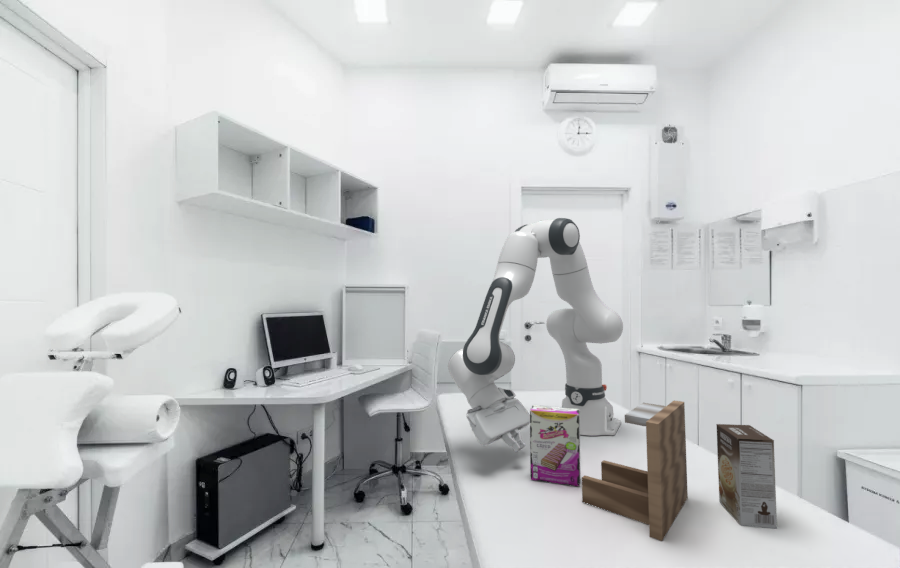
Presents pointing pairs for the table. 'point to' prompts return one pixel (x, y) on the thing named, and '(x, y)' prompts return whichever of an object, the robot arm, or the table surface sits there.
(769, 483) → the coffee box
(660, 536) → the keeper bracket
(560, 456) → the candy bar box
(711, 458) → the table surface
